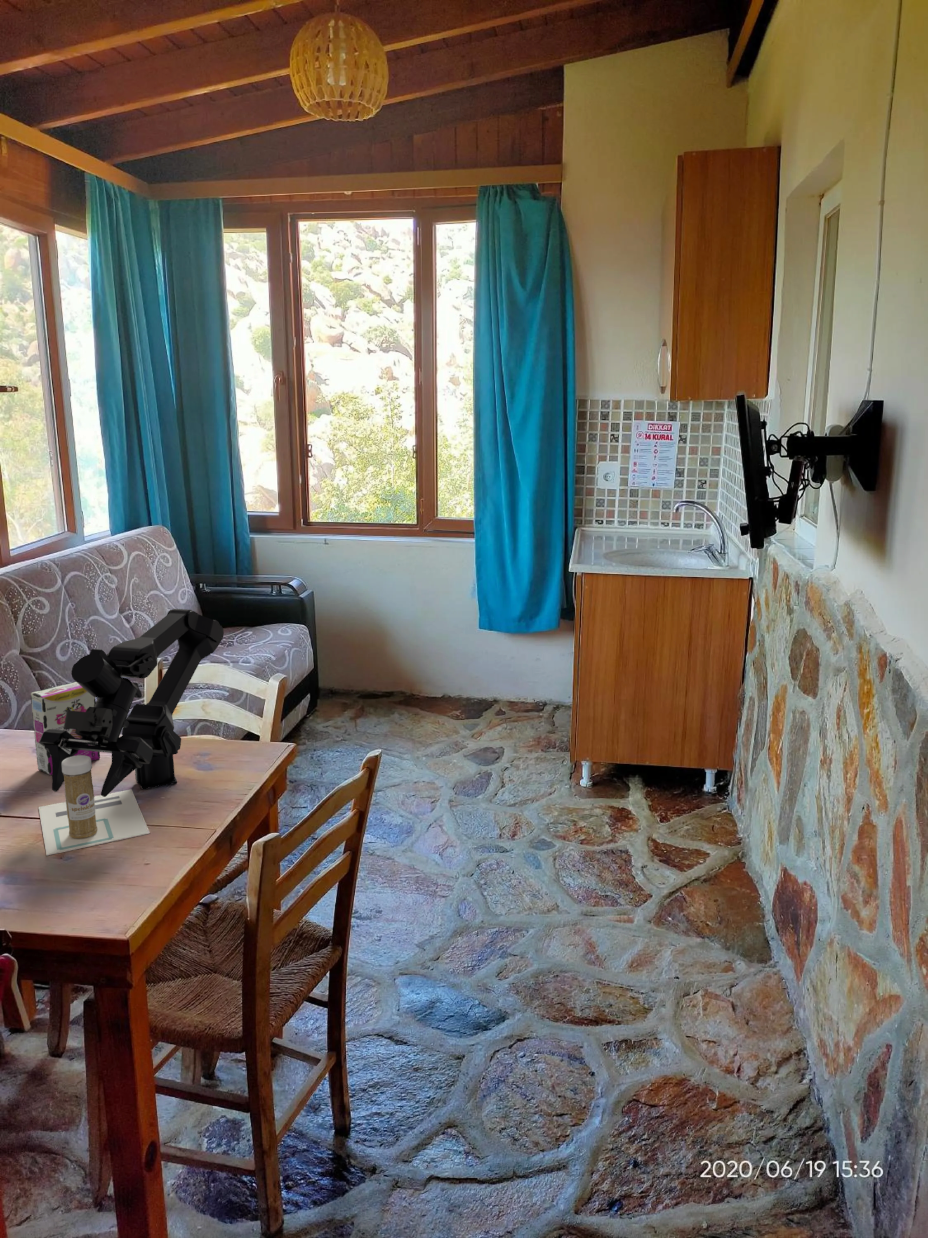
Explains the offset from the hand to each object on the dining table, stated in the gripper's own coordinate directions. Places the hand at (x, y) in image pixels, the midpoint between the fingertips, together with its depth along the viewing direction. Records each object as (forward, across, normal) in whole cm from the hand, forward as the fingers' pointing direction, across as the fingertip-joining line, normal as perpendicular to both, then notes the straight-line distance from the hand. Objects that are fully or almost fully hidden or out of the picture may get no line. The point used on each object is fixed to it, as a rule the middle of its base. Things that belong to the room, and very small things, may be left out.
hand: (78, 793), depth 146 cm
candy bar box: (-13, -22, +24) cm, 35 cm away
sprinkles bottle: (+5, 0, +6) cm, 8 cm away
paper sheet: (+2, -2, +9) cm, 9 cm away
